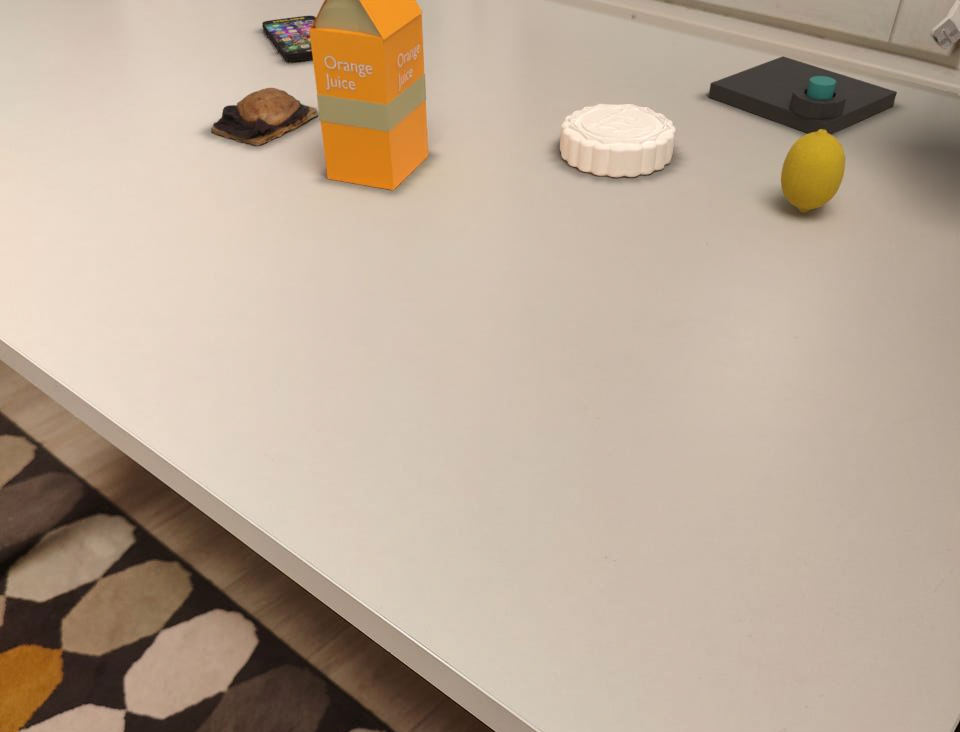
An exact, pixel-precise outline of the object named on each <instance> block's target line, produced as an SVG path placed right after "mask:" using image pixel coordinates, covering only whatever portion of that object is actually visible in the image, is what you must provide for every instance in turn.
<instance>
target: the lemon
mask: <svg viewBox="0 0 960 732" xmlns="http://www.w3.org/2000/svg"><path fill="white" fill-rule="evenodd" d="M845 169H846V156H845V150H844V148H843V145H842V143H841V142H840V141H839V139H838V138H837V137H836V136H834V135H833V134H829V133H827V131H826V130H824V129H820V130H818V131H817V132H812V133H806V134H804V135H803V136H801V137H800V138H798V139H797V140H796V141H795V142H794V143H793V144H792V146H791V147H790V149H789V150H788V152H787V154H786V156H785V158H784V160H783V163H782V168H781V174H780V175H781V176H780V186H781V191H782V193H783V195H784V197H785V199H786V200H787V201H788V202H789V204H791V205H792V206H795V207H796V208H797V209H798V211H799V212H800V213H802V214H803V213H804V214H805V213H807V212H809V211H810V210H813V209H818V208H821V207H822V206H825V205H826V204H828V202H830V201H831V200H832V199H833V198H834V197H835V196H836V194H837V193H838V192H839V189H840V187H841V185H842V182H843V178H844V175H845Z"/></svg>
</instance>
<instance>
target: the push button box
mask: <svg viewBox="0 0 960 732" xmlns="http://www.w3.org/2000/svg"><path fill="white" fill-rule="evenodd" d="M815 76H826V77H830V78H833V79H834V80H835V81H836V85H835V89H834V93H833V97H832V98H831V99H817V98H812V97H809V96H807V95H806V93H807V89H808V84H809V80H810V78H812V77H815ZM897 94H898V92H897V91H895V90H893V89H889V88H886V87H883V86H880V85H876V84H873V83H870V82H868V81H867V82H866V81H864V80H861V79H857V78H854V77H852V76H851V77H850V76H848V75H845V74H841V73H839V72H835V71H831V70H828V69H825V68H822V67H819V66H815V65H812V64H809V63H806V62H802V61H799V60H797V59H793V58H790V57H787V56H784V55H783V56H780V57H777V58H775V59H771V60H769V61H766V62H763V63H761V64H759V65H755V66H753V67H750V68H748V69H745V70H742V71H739V72H738V73H734V74H731V75H729V76H726V77H723V78H721V79H718V80H715V81H713V82H710V84H709V91H708V98H709V99H712V100H714V101H715V100H716V101H718V102H720V103H724V104H727V105H729V106H732V107H735V108H738V109H740V110H742V111H746V112H748V113H751V114H754V115H757V116H759V117H763V118H765V119H768V120H770V121H773V122H775V123H779V124H782V125H784V126H787V127H789V128H793V129H795V130H798V131H801V132H803V133H806V134H809V133H812V132H817V131H818V130H820V129H824V130H826V131H827V133H829V134H831V135H833V134H835V133H837V132H840V131H842V130H843V129H846V128H848V127H851V126H852V125H855V124H857V123H860V122H861V121H863V120H866V119H868V118H870V117H873V116H875V115H876V114H879V113H882V112H883V111H886V110H888V109H890V108H892V107H894V103H895V101H896V97H897Z"/></svg>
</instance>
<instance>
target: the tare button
mask: <svg viewBox="0 0 960 732" xmlns="http://www.w3.org/2000/svg"><path fill="white" fill-rule="evenodd" d="M835 85H836V81H835V80H834V79H833V78H830V77H826V76H815V77H812V78H810V80H809V84H808V89H807V93H806V95H807V96H809V97H812V98H817V99H831V98H832V97H833V93H834V89H835Z"/></svg>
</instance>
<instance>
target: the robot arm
mask: <svg viewBox="0 0 960 732" xmlns="http://www.w3.org/2000/svg"><path fill="white" fill-rule="evenodd" d="M929 34H930V37H931V38H932V40H933V41H934V43H935V44H936V45H937V46H939V48H941V49H943V50H947V49H949V48H950V47H951V46H953V44H955V43H957V42H958V41H959V40H960V0H955V1H954V3H953V4H952V6H951V7H950V9H949V11H948V13H947V14H946V15H945V17H944V18H943V19H942V20H941V21H940V22H939V23H938V24H936V25H935V26H934V27H933V28H932V29H931V30H930V33H929Z"/></svg>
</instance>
